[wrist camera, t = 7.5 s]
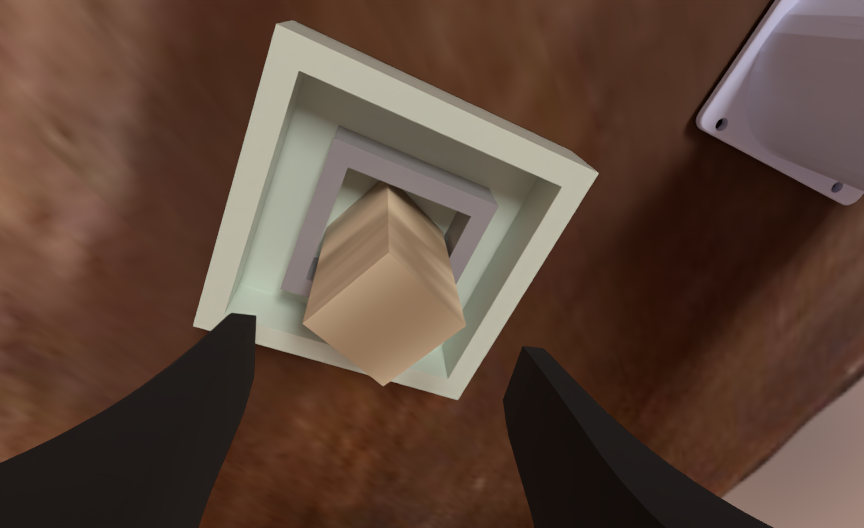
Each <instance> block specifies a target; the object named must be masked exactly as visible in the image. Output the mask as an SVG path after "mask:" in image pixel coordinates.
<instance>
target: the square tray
mask: <svg viewBox="0 0 864 528" xmlns="http://www.w3.org/2000/svg"><path fill="white" fill-rule="evenodd" d="M598 174H599V173H598V172H597V171H596V170H594V169H593V168H592V167H591V166H589V165H588V164H587V163H586V162H584V161H583V160H582V159H581V158H579V157H578V156H577V155H576V154H574V153H573V152H572V151H570V150H568V149H566V148H564V147H562V146H560V145H557V144H555V143H553V142H551V141H549V140H547V139H545V138H543V137H540V136H538V135H536V134H534V133H532V132H530V131H528V130H526V129H523V128H521V127H519V126H517V125H515V124H513V123H511V122H508V121H506V120H504V119H502V118H500V117H498V116H496V115H494V114H491V113H489V112H487V111H485V110H483V109H481V108H479V107H476V106H474V105H472V104H470V103H468V102H466V101H464V100H462V99H459V98H457V97H455V96H453V95H451V94H449V93H447V92H445V91H442V90H440V89H438V88H436V87H434V86H432V85H430V84H427V83H425V82H423V81H421V80H419V79H417V78H415V77H413V76H410V75H408V74H406V73H404V72H402V71H400V70H398V69H396V68H393V67H391V66H389V65H387V64H385V63H383V62H381V61H378V60H376V59H374V58H372V57H370V56H368V55H366V54H364V53H361V52H359V51H357V50H355V49H353V48H351V47H349V46H347V45H344V44H342V43H340V42H338V41H336V40H334V39H332V38H329V37H327V36H325V35H323V34H321V33H319V32H317V31H315V30H312V29H310V28H308V27H306V26H304V25H302V24H300V23H298V22H295V21H293V20H292V21H287V22H282V23H277V24H276V27H275V30H274V34H273V37H272V41H271V45H270V48H269V52H268V56H267V59H266V63H265V67H264V70H263V74H262V77H261V81H260V85H259V88H258V92H257V96H256V99H255V103H254V107H253V110H252V114H251V117H250V121H249V125H248V128H247V132H246V136H245V139H244V143H243V147H242V150H241V154H240V157H239V161H238V165H237V168H236V172H235V176H234V179H233V183H232V186H231V190H230V194H229V197H228V201H227V205H226V208H225V212H224V216H223V219H222V223H221V226H220V230H219V234H218V237H217V241H216V245H215V248H214V252H213V256H212V259H211V263H210V266H209V270H208V274H207V277H206V281H205V285H204V288H203V292H202V296H201V299H200V303H199V306H198V310H197V314H196V317H195V321H194V325H193V326H194V327H198V328H202V329H205V330H209V331H211V330H212V329H213V328H214V327H215V326H216V325H218V324H219V323H220V322H221V321H222V320H223V319H224V318H225V317H226V316H227V315H229V314H230V313H239V314H248V315H256V340H255V344H259V345H263V346H266V347H270V348H273V349H277V350H280V351H284V352H288V353H291V354H295V355H298V356H302V357H305V358H309V359H313V360H316V361H320V362H323V363H327V364H331V365H334V366H338V367H341V368H345V369H348V370H352V371H356V372H359V373H363V374H366V375H368V374H367V373H365V372H364V371H363V370H362V369H360V368H359V367H358V366H356V365H355V364H354V363H353V362H351V361H350V360H349V359H347V358H346V357H345V356H344V355H342V354H341V353H340V352H338V351H337V350H336V349H335V348H333V347H332V346H331V345H329V344H328V343H327V342H326V341H324V340H323V339H322V338H320V337H319V336H318V335H317V334H315V333H314V332H313V331H311V330H310V329H309V328H307V327H306V326H305V325H304V324H302V323H303V319H304V315H305V311H306V308H307V304H308V300H309V296H310V292H311V288H312V284H313V280H314V276H315V272H316V268H317V265H318V261H319V257H320V253H321V249H322V245H323V241H324V237H325V233H326V229H327V227H328V226H329V225H330V224H331V223H332V222H333V221H334V220H335V219H337V218H338V217H339V216H340V215H341V214H342V213H343V212H345V211H346V210H347V209H348V208H349V207H350V206H351V205H352V204H354V203H355V202H356V201H357V200H358V199H359V198H360V197H362V196H363V195H364V194H365V193H366V192H367V191H368V190H369V189H371V188H372V187H373V186H374V185H375V184H376V183H377V182H379V181H380V180H381V181H383V182H386V183H388V184H391V185H393V186H396V187H398V188H401V189H403V190H404V191H405V192H406V193H407V195H408V196H409V197H410V198H411V199H412V200H413V201H414V202H415V203H416V204H417V205H418V206H419V207H420V208H421V209H422V210H423V211H424V212H425V213H426V214H427V216H428V217H429V218H430V219H431V220H432V221H433V222H434V223H435V224H436V225H437V226H438V227H439V228H440V229H441V230H442V232H443V236H444V240H445V244H446V248H447V252H448V256H449V260H450V264H451V268H452V272H453V276H454V280H455V284H456V288H457V292H458V296H459V300H460V304H461V308H462V312H463V316H464V320H465V324H466V326H465V327H464V328H462V329H461V330H460V331H458V332H457V333H456V334H454V335H453V336H451V337H450V338H449V339H447V340H446V341H445V342H443V343H442V344H441V345H439V346H438V347H436V348H435V349H434V350H432V351H431V352H430V353H428V354H427V355H425V356H424V357H423V358H421V359H420V360H419V361H417V362H416V363H415V364H413V365H412V366H410V367H409V368H408V369H406V370H405V371H404V372H402V373H401V374H399V375H398V376H397V377H395V378H394V379H393V380H391V382H395V383H399V384H402V385H406V386H409V387H413V388H416V389H420V390H424V391H427V392H431V393H434V394H438V395H442V396H445V397H449V398H452V399H456V400H458V399H459V397H460V396H461V394H462V392H463V391H464V389H465V388H466V386H467V384H468V383H469V381H470V380H471V378H472V376H473V375H474V373H475V372H476V370H477V368H478V367H479V365H480V363H481V362H482V360H483V359H484V357H485V355H486V354H487V352H488V351H489V349H490V347H491V346H492V344H493V343H494V341H495V339H496V338H497V336H498V335H499V333H500V331H501V330H502V328H503V326H504V325H505V323H506V322H507V320H508V318H509V317H510V315H511V314H512V312H513V310H514V309H515V307H516V306H517V304H518V302H519V301H520V299H521V298H522V296H523V294H524V293H525V291H526V289H527V288H528V286H529V285H530V283H531V281H532V280H533V278H534V277H535V275H536V273H537V272H538V270H539V269H540V267H541V265H542V264H543V262H544V261H545V259H546V257H547V256H548V254H549V252H550V251H551V249H552V248H553V246H554V244H555V243H556V241H557V240H558V238H559V236H560V235H561V233H562V232H563V230H564V228H565V227H566V225H567V224H568V222H569V220H570V219H571V217H572V215H573V214H574V212H575V211H576V209H577V207H578V206H579V204H580V203H581V201H582V199H583V198H584V196H585V195H586V193H587V191H588V190H589V188H590V187H591V185H592V183H593V182H594V180H595V178H596V177H597V175H598Z"/></svg>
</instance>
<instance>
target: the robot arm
mask: <svg viewBox="0 0 864 528" xmlns="http://www.w3.org/2000/svg"><path fill="white" fill-rule="evenodd" d="M720 119H722V124H721V125H720V126H719V127H718V128H716V123H717V122H718V121H719V120H720ZM696 124H697V127H698V128H699V129H701V130H703V131H704V132H706V133H708V134H710V135H712V136H714V137H716V138H718V139H720V140H721V141H723V142H725V143H727V144H729V145H731V146H733V147H735V148H737V149H738V150H740V151H742V152H744V153H746V154H748V155H750V156H752V157H753V158H755V159H757V160H759V161H761V162H763V163H765V164H767V165H769V166H770V167H772V168H774V169H776V170H778V171H780V172H782V173H784V174H786V175H787V176H789V177H791V178H793V179H795V180H797V181H799V182H801V183H802V184H804V185H806V186H808V187H810V188H812V189H814V190H816V191H818V192H819V193H821V194H823V195H825V196H827V197H829V198H831V199H833V200H835V201H836V202H838V203H841V204H843V205H851V204H852V203H854V202H856V201H857V200H858V199H859V198H860V197H861V196H862V195H863V194H864V0H775V1H774V3H773V4H772V6H771V7H770V9H769V10H768V11H767V13H766V14H765V16H764V17H763V19H762V20H761V22H760V23H759V25H758V26H757V28H756V29H755V31H754V32H753V34H752V35H751V37H750V38H749V40H748V41H747V42H746V44H745V45H744V47H743V48H742V50H741V51H740V53H739V54H738V56H737V57H736V59H735V60H734V62H733V63H732V65H731V66H730V68H729V69H728V70H727V72H726V73H725V75H724V76H723V78H722V79H721V81H720V82H719V84H718V85H717V87H716V88H715V90H714V91H713V93H712V94H711V96H710V97H709V99H708V100H707V101H706V103H705V104H704V106H703V107H702V109H701V110H700V112H699V113H698V115H697V118H696ZM835 183H836V184H835ZM834 184H835V186H834V187H833V188H832V186H833V185H834ZM255 340H256V315H248V314H239V313H230V314H229V315H227V316H226V317H225V318H224V319H223V320H222V321H221V322H220V323H219V324H218V325H216V326H215V327H214V328H213V329H212V330H211V331H210V332H209V333H208V334H207V335H205V336H204V337H203V338H202V339H201V340H200V341H199V342H197V343H196V344H195V345H194V346H193V347H192V348H190V349H189V350H188V351H187V352H185V353H184V354H183V355H182V356H181V357H179V358H178V359H177V360H176V361H175V362H173V363H172V364H171V365H170V366H168V367H167V368H165V369H164V370H163V371H161V372H160V373H159V374H157V375H156V376H155V377H153V378H152V379H151V380H149V381H148V382H147V383H145V384H144V385H143V386H141V387H140V388H138V389H137V390H135V391H134V392H132V393H131V394H129V395H128V396H126V397H125V398H123V399H122V400H120V401H119V402H117V403H115V404H114V405H112V406H111V407H109V408H107V409H106V410H104V411H103V412H101V413H99V414H97V415H96V416H94V417H92V418H90V419H88V420H86V421H85V422H83V423H81V424H79V425H77V426H75V427H73V428H72V429H70V430H68V431H66V432H64V433H62V434H61V435H59V436H57V437H55V438H53V439H51V440H49V441H47V442H45V443H43V444H40V445H38V446H36V447H34V448H32V449H30V450H28V451H26V452H24V453H21V454H19V455H17V456H15V457H13V458H10V459H8V460H6V461H4V462H1V463H0V528H198V527H199V524H200V521H201V518H202V515H203V511H204V509H205V506H206V503H207V501H208V498H209V495H210V492H211V490H212V488H213V485H214V483H215V481H216V478H217V476H218V473H219V471H220V469H221V466H222V464H223V462H224V459H225V457H226V454H227V452H228V450H229V447H230V445H231V442H232V440H233V438H234V435H235V433H236V430H237V428H238V426H239V423H240V421H241V418H242V416H243V413H244V411H245V407H246V404H247V400H248V397H249V393H250V389H251V386H252V382H253V379H254V365H255ZM503 404H504V411H505V418H506V424H507V430H508V435H509V439H510V443H511V446H512V450H513V453H514V457H515V460H516V464H517V467H518V470H519V474H520V477H521V480H522V484H523V487H524V491H525V494H526V497H527V501H528V504H529V507H530V511H531V515H532V519H533V523H534V527H535V528H773V527H771V526H769V525H767V524H765V523H763V522H762V521H760V520H758V519H756V518H754V517H752V516H750V515H748V514H747V513H745V512H743V511H741V510H740V509H738V508H736V507H735V506H733V505H731V504H730V503H728V502H726V501H725V500H723V499H721V498H720V497H718V496H716V495H715V494H713V493H712V492H710V491H708V490H707V489H705V488H704V487H702V486H701V485H699V484H697V483H696V482H694V481H693V480H692V479H690V478H689V477H687V476H686V475H684V474H683V473H681V472H680V471H679V470H677V469H676V468H674V467H673V466H671V465H670V464H669V463H667V462H666V461H665V460H663V459H662V458H660V457H659V456H658V455H657V454H655V453H654V452H653V451H652V450H650V449H649V448H648V447H647V446H645V445H644V444H643V443H641V442H640V441H639V440H638V439H636V438H635V437H634V436H633V435H632V434H631V433H629V432H628V431H627V430H626V429H625V428H624V427H623V426H621V425H620V424H619V423H618V422H617V421H616V420H615V419H614V418H613V417H612V416H610V415H609V414H608V413H607V412H606V411H605V410H604V409H603V408H602V407H601V406H600V405H599V404H598V403H597V402H596V401H595V400H594V399H593V398H592V397H591V396H590V395H589V394H588V393H587V392H586V391H585V390H584V389H583V388H582V387H581V386H580V385H579V384H578V383H577V382H576V381H575V380H574V379H573V378H572V377H571V376H570V375H569V374H568V373H567V372H566V371H565V370H564V369H563V368H562V367H561V366H560V365H559V363H558V362H557V361H556V360H555V359H554V358H553V357H552V356H551V355H550V354H549V353H547V352H546V351H545V350H544V349H543V348H535V347H526V346H523V347H522V349H521V352H520V355H519V358H518V360H517V363H516V366H515V369H514V371H513V374H512V377H511V380H510V382H509V385H508V388H507V391H506V393H505V396H504V399H503Z"/></svg>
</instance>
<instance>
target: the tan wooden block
mask: <svg viewBox="0 0 864 528" xmlns="http://www.w3.org/2000/svg"><path fill="white" fill-rule="evenodd" d="M302 324H304V325H305V326H306V327H307V328H309V329H310V330H311V331H313V332H314V333H315V334H317V335H318V336H319V337H320V338H322V339H323V340H324V341H326V342H327V343H328V344H329V345H331V346H332V347H333V348H335V349H336V350H337V351H338V352H340V353H341V354H342V355H344V356H345V357H346V358H347V359H349V360H350V361H351V362H353V363H354V364H355V365H356V366H358V367H359V368H360V369H362V370H363V371H364V372H365V373H367V374H368V375H369V376H371V377H372V378H373V379H374V380H376V381H377V382H378V383H380V384H381V385H382V386H384V385H386V384H387V383H388V382H390V381H391V380H393V379H394V378H395V377H397V376H398V375H399V374H401V373H402V372H404V371H405V370H406V369H408V368H409V367H410V366H412V365H413V364H415V363H416V362H417V361H419V360H420V359H421V358H423V357H424V356H425V355H427V354H428V353H430V352H431V351H432V350H434V349H435V348H436V347H438V346H439V345H441V344H442V343H443V342H445V341H446V340H447V339H449V338H450V337H451V336H453V335H454V334H456V333H457V332H458V331H460V330H461V329H462V328H464V327H465V326H466V324H465V320H464V316H463V312H462V308H461V304H460V300H459V296H458V292H457V288H456V284H455V280H454V276H453V272H452V268H451V264H450V260H449V256H448V252H447V248H446V244H445V240H444V236H443V232H442V230H441V229H440V228H439V227H438V226H437V225H436V224H435V223H434V222H433V221H432V220H431V219H430V218H429V217H428V216H427V214H426V213H425V212H424V211H423V210H422V209H421V208H420V207H419V206H418V205H417V204H416V203H415V202H414V201H413V200H412V199H411V198H410V197H409V196H408V195H407V193H406V192H405V191H404V190H403V189H401V188H398V187H396V186H393V185H391V184H388V183H386V182H383V181H381V180H380V181H379V182H377V183H376V184H375V185H374V186H373V187H372V188H371V189H369V190H368V191H367V192H366V193H365V194H364V195H363V196H362V197H360V198H359V199H358V200H357V201H356V202H355V203H354V204H352V205H351V206H350V207H349V208H348V209H347V210H346V211H345V212H343V213H342V214H341V215H340V216H339V217H338V218H337V219H335V220H334V221H333V222H332V223H331V224H330V225H329V226H328V227H327V229H326V233H325V237H324V241H323V245H322V249H321V253H320V257H319V261H318V265H317V268H316V272H315V276H314V280H313V284H312V288H311V292H310V296H309V300H308V304H307V308H306V311H305V315H304V319H303V323H302Z"/></svg>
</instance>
